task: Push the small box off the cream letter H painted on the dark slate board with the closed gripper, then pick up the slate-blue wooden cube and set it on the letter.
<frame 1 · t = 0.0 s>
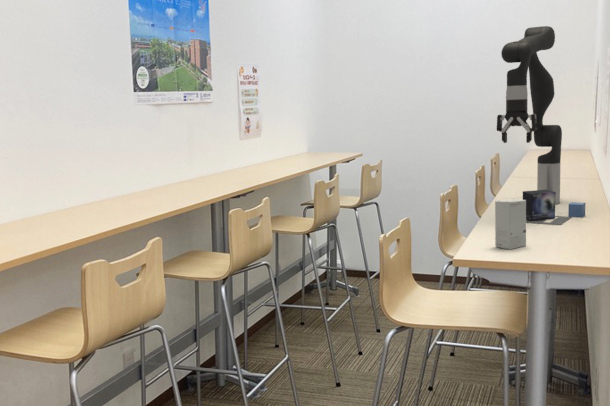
hand: (516, 142, 258), 29 cm above the table, tool pointing down, fingers open, 8 cm apart
letter board: (538, 219, 263), on the table
blue cube: (576, 216, 267), on the table
small box: (538, 219, 263), resting on letter board
skincare box: (510, 247, 220), on the table
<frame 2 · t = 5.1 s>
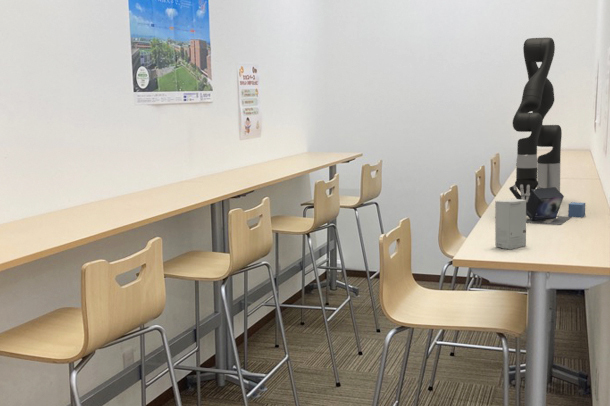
hand: (526, 211, 265), 3 cm above the table, tool pointing down, fingers closed
small box: (539, 216, 262), point 1 cm above the table, touching gripper, hand, letter board
everything else where it was.
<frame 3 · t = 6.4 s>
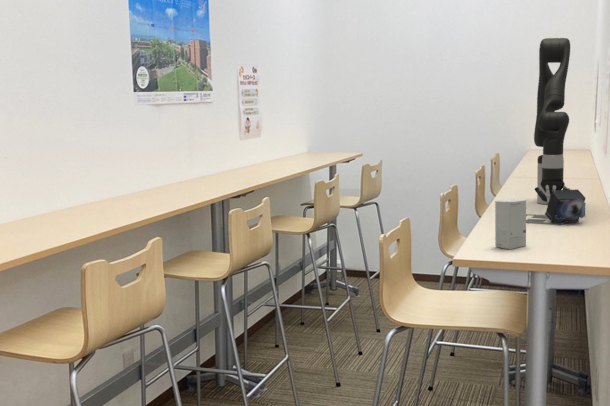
hand: (551, 212, 260), 3 cm above the table, tool pointing down, fingers closed
small box: (561, 218, 256), point 1 cm above the table
everything else where it was.
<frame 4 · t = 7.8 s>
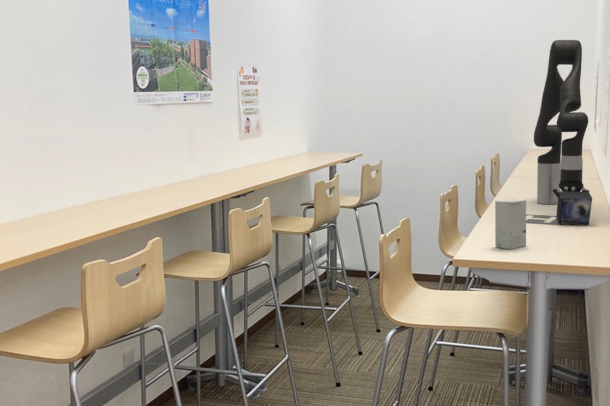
hand: (570, 214, 256), 3 cm above the table, tool pointing down, fingers closed
small box: (572, 221, 253), point 1 cm above the table, touching gripper
everything else where it was.
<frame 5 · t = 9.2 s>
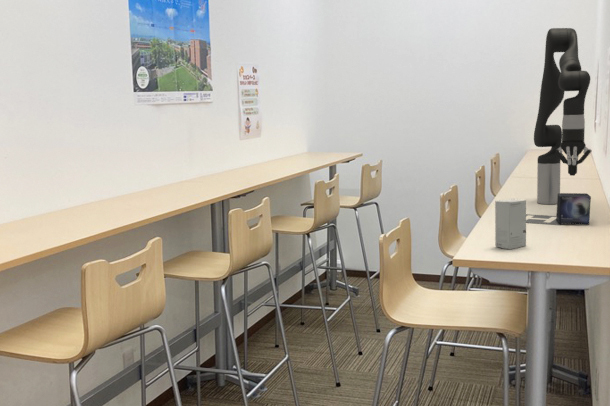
hand: (572, 175, 254), 17 cm above the table, tool pointing down, fingers closed
small box: (572, 223, 253), on the table, touching letter board
everything else where it was.
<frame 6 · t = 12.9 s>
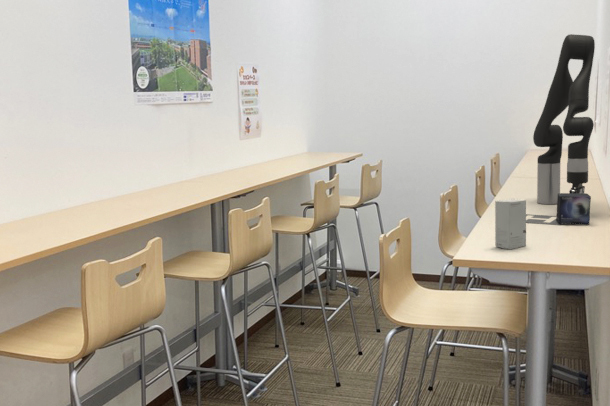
hand: (576, 214, 267), 1 cm above the table, tool pointing down, fingers closed on blue cube, 5 cm apart
blue cube: (576, 216, 267), on the table, touching gripper
everything else where it was.
when the fingers open (3 cm above the table, at t = 20.1 s): blue cube drops 2 cm, resting on letter board.
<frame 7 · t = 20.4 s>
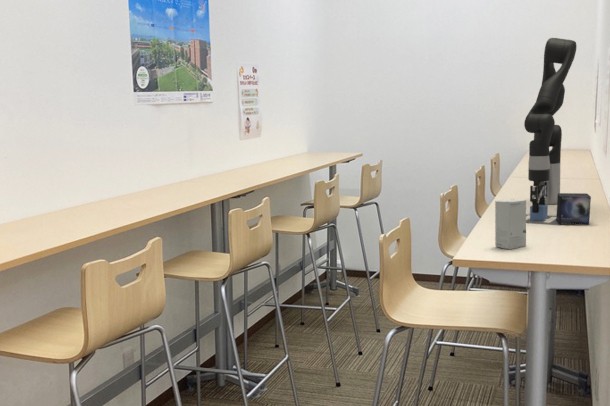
hand: (538, 211, 263), 3 cm above the table, tool pointing down, fingers open, 8 cm apart
blue cube: (538, 218, 263), resting on letter board
everything else where it was.
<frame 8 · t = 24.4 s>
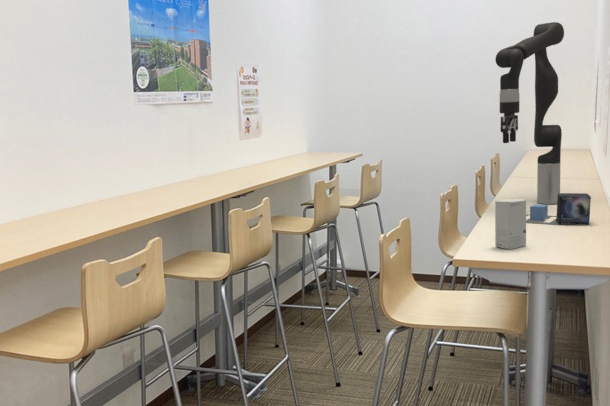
hand: (509, 142, 277), 28 cm above the table, tool pointing down, fingers open, 8 cm apart
nothing on the table moved.
at the end: blue cube 0.1 cm off-centre on the letter board, point 0.2 cm above the letter board's base; blue cube tilted 0°; small box inside the target area (7.5 cm from its centre), on the table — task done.
